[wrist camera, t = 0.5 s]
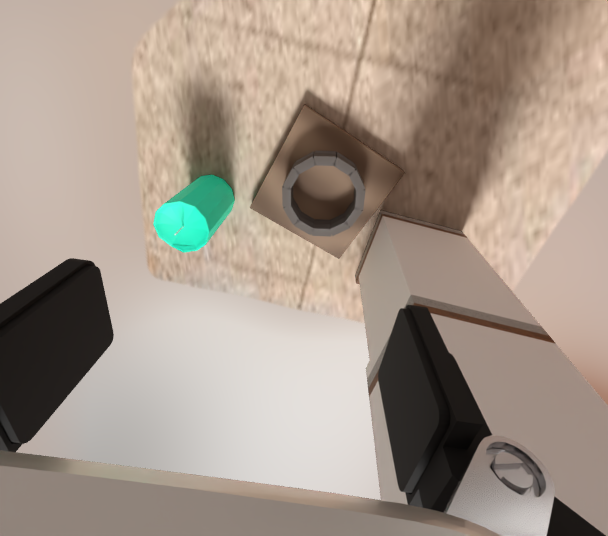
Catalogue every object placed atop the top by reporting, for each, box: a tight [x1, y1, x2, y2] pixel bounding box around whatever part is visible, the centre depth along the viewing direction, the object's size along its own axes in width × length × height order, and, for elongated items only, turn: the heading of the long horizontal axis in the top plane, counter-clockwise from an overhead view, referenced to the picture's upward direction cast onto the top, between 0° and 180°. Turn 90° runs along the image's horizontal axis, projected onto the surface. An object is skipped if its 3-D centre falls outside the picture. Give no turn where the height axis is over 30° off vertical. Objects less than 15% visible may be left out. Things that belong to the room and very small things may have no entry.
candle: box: [153, 175, 235, 253], centre depth 38 cm, size 6×6×12 cm
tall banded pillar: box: [355, 210, 608, 536], centre depth 30 cm, size 11×11×35 cm
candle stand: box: [250, 104, 405, 259], centre depth 40 cm, size 14×14×4 cm
